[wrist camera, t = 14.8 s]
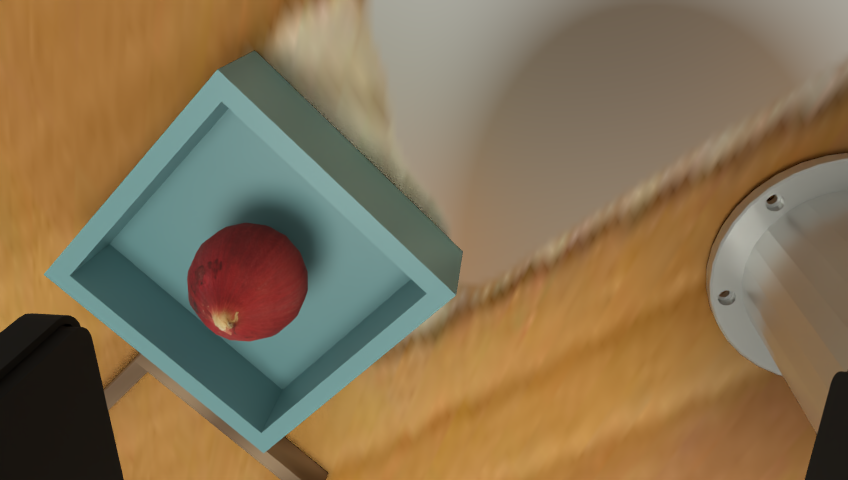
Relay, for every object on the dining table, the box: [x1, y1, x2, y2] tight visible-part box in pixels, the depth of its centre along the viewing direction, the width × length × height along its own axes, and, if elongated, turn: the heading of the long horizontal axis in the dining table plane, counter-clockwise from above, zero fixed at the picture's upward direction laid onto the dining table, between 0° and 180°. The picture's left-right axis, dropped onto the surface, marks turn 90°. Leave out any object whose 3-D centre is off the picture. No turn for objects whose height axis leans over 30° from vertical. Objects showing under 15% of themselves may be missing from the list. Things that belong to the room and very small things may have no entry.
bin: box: [44, 51, 463, 453], centre depth 38 cm, size 15×15×5 cm
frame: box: [103, 353, 328, 480], centre depth 47 cm, size 14×14×2 cm
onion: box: [187, 223, 308, 342], centre depth 36 cm, size 6×6×8 cm
